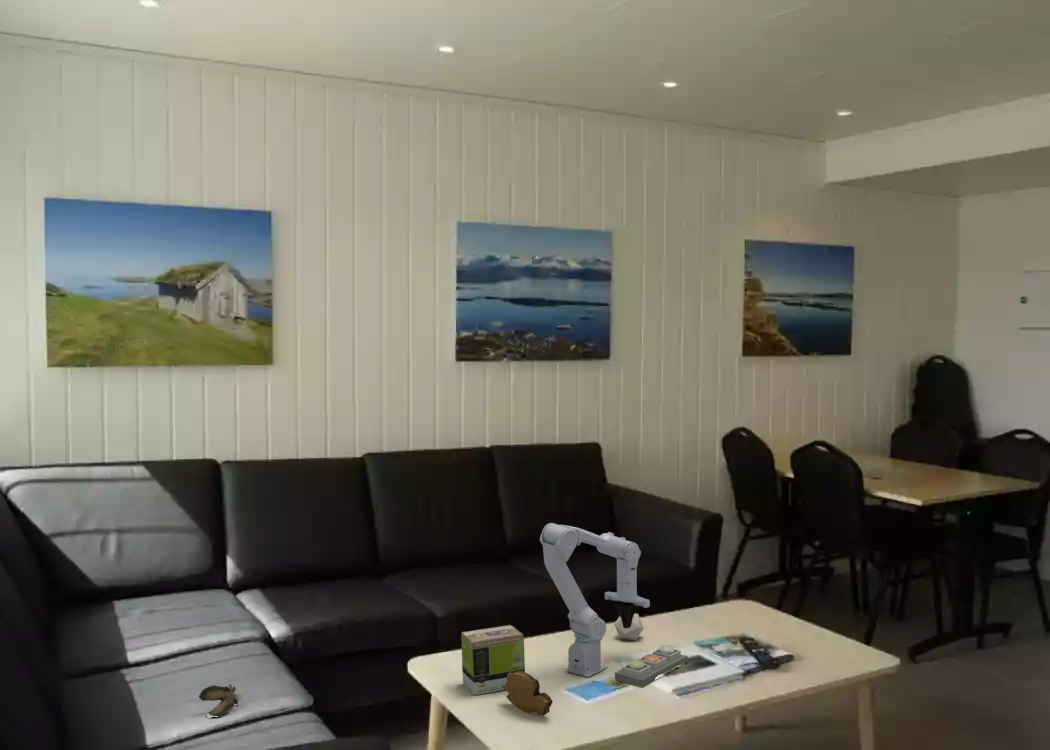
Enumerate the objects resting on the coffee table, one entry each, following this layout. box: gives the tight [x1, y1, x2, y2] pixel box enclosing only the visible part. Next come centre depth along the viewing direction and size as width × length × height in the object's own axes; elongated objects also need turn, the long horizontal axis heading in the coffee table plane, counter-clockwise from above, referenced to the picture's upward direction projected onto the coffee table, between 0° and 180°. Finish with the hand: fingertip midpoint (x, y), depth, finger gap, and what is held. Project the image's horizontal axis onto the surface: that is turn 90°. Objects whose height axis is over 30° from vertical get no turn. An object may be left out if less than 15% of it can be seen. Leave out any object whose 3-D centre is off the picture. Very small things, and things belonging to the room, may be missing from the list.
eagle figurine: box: [198, 683, 245, 717], centre depth 237 cm, size 8×8×10 cm
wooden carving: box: [502, 671, 553, 717], centre depth 235 cm, size 16×5×10 cm, turn 48°
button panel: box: [614, 648, 688, 688], centre depth 262 cm, size 24×9×4 cm, turn 140°
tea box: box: [460, 624, 526, 696], centre depth 252 cm, size 15×10×15 cm, turn 112°
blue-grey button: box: [658, 644, 675, 655], centre depth 268 cm, size 4×4×2 cm
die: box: [614, 613, 645, 642], centre depth 290 cm, size 8×9×10 cm
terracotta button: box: [644, 655, 660, 663], centre depth 262 cm, size 4×4×2 cm
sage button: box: [627, 659, 644, 671], centre depth 255 cm, size 4×4×2 cm
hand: (627, 627), depth 271 cm, fingers closed
